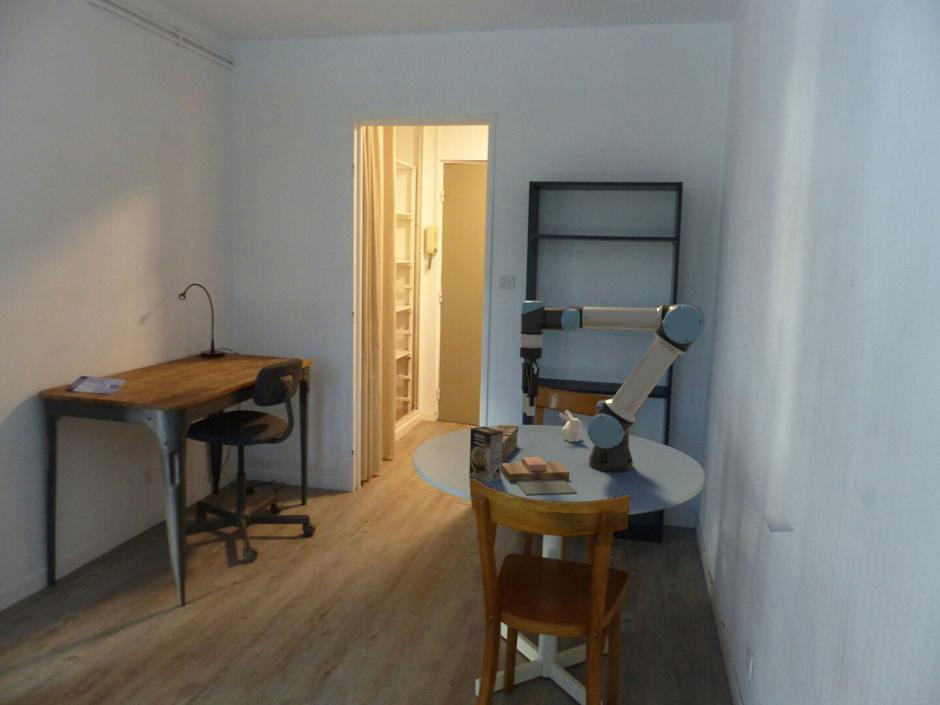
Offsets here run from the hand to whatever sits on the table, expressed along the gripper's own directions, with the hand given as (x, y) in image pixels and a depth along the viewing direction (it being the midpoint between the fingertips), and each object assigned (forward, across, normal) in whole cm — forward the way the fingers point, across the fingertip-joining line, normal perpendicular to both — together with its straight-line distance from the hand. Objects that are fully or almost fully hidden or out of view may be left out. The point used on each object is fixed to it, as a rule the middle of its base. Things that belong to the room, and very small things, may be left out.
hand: (528, 413), depth 239 cm
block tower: (+19, -17, -6) cm, 27 cm away
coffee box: (+19, +11, -17) cm, 28 cm away
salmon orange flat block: (+16, +9, 0) cm, 18 cm away
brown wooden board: (+19, +10, 0) cm, 21 cm away
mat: (+19, +23, 0) cm, 30 cm away
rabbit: (+19, -35, +28) cm, 49 cm away
